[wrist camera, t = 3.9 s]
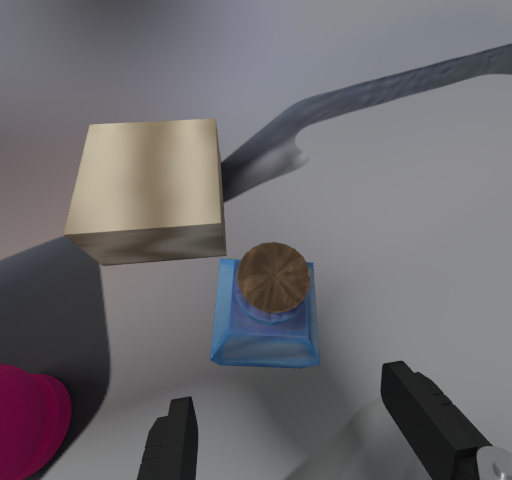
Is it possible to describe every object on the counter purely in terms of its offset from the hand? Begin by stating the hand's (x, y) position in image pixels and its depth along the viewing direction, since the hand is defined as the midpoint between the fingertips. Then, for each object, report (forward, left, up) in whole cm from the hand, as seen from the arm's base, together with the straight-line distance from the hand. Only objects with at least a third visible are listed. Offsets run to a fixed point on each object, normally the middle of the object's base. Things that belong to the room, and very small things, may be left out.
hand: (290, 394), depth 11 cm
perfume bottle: (0, +5, -10) cm, 11 cm away
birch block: (-8, +17, -10) cm, 21 cm away
